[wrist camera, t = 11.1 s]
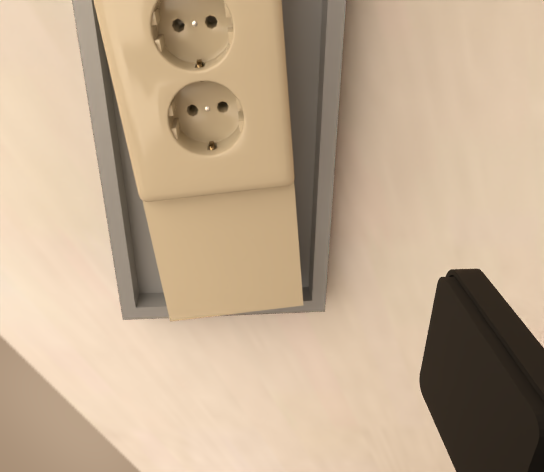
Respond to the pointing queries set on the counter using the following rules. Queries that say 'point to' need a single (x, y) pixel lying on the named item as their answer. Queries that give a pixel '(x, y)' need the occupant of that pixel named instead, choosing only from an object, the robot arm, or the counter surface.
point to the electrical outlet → (209, 148)
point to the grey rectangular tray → (305, 140)
